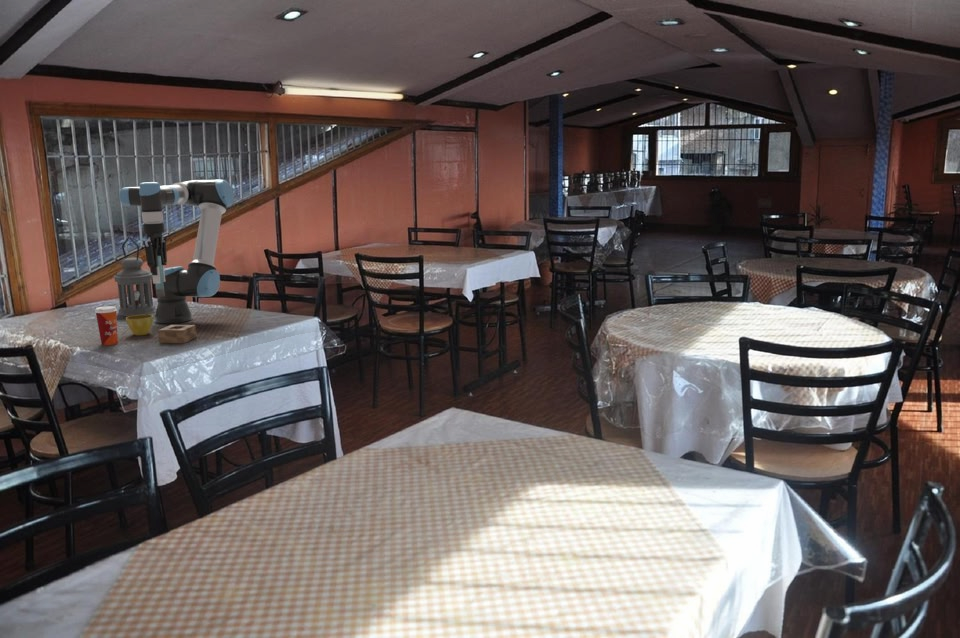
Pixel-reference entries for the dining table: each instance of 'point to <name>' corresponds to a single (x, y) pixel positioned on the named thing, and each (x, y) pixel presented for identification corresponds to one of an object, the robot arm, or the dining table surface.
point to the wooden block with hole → (177, 333)
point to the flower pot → (140, 324)
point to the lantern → (128, 279)
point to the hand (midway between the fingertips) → (159, 282)
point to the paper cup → (107, 324)
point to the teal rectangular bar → (160, 286)
